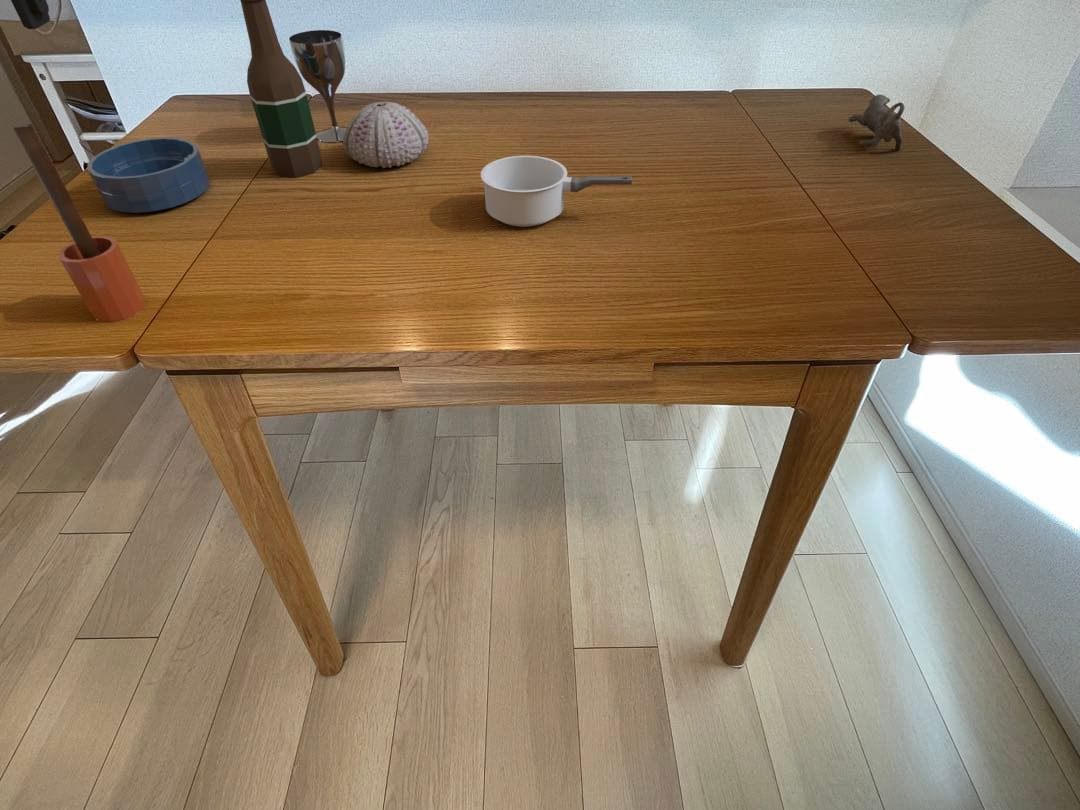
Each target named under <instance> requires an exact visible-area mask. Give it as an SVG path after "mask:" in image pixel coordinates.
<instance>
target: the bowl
mask: <svg viewBox="0 0 1080 810" xmlns="http://www.w3.org/2000/svg"><path fill="white" fill-rule="evenodd" d="M87 172H88V174H89V177H90V178H91V180H92V182H93V184H94V186H95V188H96V191H97V192H98V194H99V196H100V198H101V200H102V202H103V204H104V205H105V206H106V207H108V208H109V209H111V210H113V211H117V212H121V213H131V214H139V213H140V214H141V213H153V212H159V211H163V210H165V211H166V210H170V209H173V208H175V207H178V206H181V205H183V204H186V203H189V202H191V201H193V200H194V199H197V198H198V197H200V196H202V194H204V193H205V192H206V191H207V190H208V189H209V187H210V185H211V179H210V177H209V174H208V171H207V169H206V166H205V164H204V160H203V158H202V155H201V153H200V149H199V147H198V144H196V143H194V142H193V141H191V140H188V139H185V138H179V137H151V138H150V137H149V138H144V139H137V140H132V141H128V142H125V143H120V144H118V145H114V146H113V147H109V148H107V149H105V150H103V151H101V152H99V153H97V154H96V155H95V156H93V157H92V158H91V159H90V160H89V161H88V162H87Z"/></svg>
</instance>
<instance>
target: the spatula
mask: <svg viewBox="0 0 1080 810" xmlns="http://www.w3.org/2000/svg"><path fill="white" fill-rule="evenodd" d="M10 127H11V129H12V131H13V133H14V135H15V137H16V138H17V140H18V142H19V144H20V146H21V148H22V149H23V151H24V153H25V155H26V156H27V158H28V160H29V162H30V164H31V165H32V167H33V169H34V171H35V173H36V174H37V176H38V178H39V180H40V182H41V184H42V186H43V187H44V189H45V191H46V193H47V195H48V196H49V198H50V200H51V202H52V203H53V205H54V208H55V209H56V211H57V212H58V216H59V217H60V218H61V221H62V222H63V224H64V225H65V228H66V229H67V231H68V233H69V234H70V236H71V238H72V241H73V242H75V244H76V245H77V247H78V249H79V251H80V253H81V255H82V256H83V258H84V259H87V258H92V257H95V256H97V255H100V252H99V250H98V248H97V246H96V244H95V242H94V241H93V239H92V235H91V233H90V231H89V229H88V227H87V226H86V224H85V222H84V220H83V218H82V216H81V214H80V212H79V210H78V209H77V207H76V205H75V203H74V201H73V199H72V197H71V195H70V194H69V192H68V189H67V187H66V185H65V184H64V182H63V180H62V178H61V176H60V175H59V172H58V171H57V169H56V167H55V165H54V163H53V161H52V159H51V157H50V155H49V153H48V151H47V149H46V147H45V145H44V144H43V142H42V140H41V138H40V137H39V134H38V132H37V131H36V129H35V127H34V125H33V123H32V122H31V121H28V120H25V121H24V120H23V121H19V122H15V123H13V124H11V125H10Z"/></svg>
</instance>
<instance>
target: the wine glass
mask: <svg viewBox="0 0 1080 810" xmlns="http://www.w3.org/2000/svg"><path fill="white" fill-rule="evenodd" d="M288 41H289V45H290V49H291V52H292V56H293V59H294V62H295V64H296V67H297V69H298V71H299V74H300V76H301V78H302V79H303V80H304V81H305V82H306V83H307V84H309V85H310V86H311V87H312V88H313V89H314V90H315V91H317V93H318V94H319V95H320V96H321V97H322V99H323V100H324V101H325V104H326V107H327V109H328V110H327V111H328V112H329V113H328V114H329V116H330V120H331V127H328V129H327V128H324V129H321V130H320V131H318V132H319V133H318V132H317V133H316V136H317V139H318V142H321V141H323V143H327V142H336V143H340V142H339V141H343V140H344V139H343V137H344V134H345V131H346V127H347V126H339V125H338V123H337V122H338V121H337V117H336V112H335V111H336V110H335V103H334V102H335V101H334V100H335V94H336V92H337V89H338V88H339V86H340V84H341V82H342V81H343V79H344V76H345V72H346V55H345V47H344V42H343V41H344V39H343V36H342V33H340V32H339V31H335V30H328V29H316V30H315V29H314V30H308V31H302V32H301V31H300V32H298V33H295V34H293V35H291V36H290V37H289V38H288ZM337 141H338V142H337Z"/></svg>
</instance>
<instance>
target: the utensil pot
mask: <svg viewBox="0 0 1080 810" xmlns="http://www.w3.org/2000/svg"><path fill="white" fill-rule="evenodd" d="M91 237H92V239H93V241H94V242H95V244H96V246H97V248H98V250H99V252H100V255H97V256H95V257H92V258H87V259H84V258H83V256H82V255H81V253H80V251H79V249H78V247H77V245H76V244H75V242H74V241H72V242H70V243H69V244H67V245H65V246H64V247H62V248H61V250H59V252H58V258H59V260H60V262H61V264H62V265H63V267H64V269H65V271H66V272H67V274H68V276H69V278H70V279H71V282H72V283H73V285H74V286H75V288H76V290H77V291H78V294H79V295H80V296H81V299H82V300H83V302H84V303H85V305H86V307H87V309H88V310H89V312H90V314H91V316H92V317H93V319H95V320H96V321H98V322H102V323H115V322H121V321H124V320H128V319H130V318H133V317H134V316H136V315H138V314H139V313H140V312H142V311H143V310H144V308H145V307H146V305H147V300H146V297H145V295H144V293H143V291H142V289H141V287H140V285H139V283H138V282H137V279H136V277H135V275H134V274H133V271H132V269H131V267H130V265H129V263H128V261H127V259H126V257H125V255H124V253H123V250H122V249H121V247H120V245H119V243H118V241H117V239H116V238H114V237H112V236H109V235H94V236H92V235H91Z"/></svg>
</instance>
